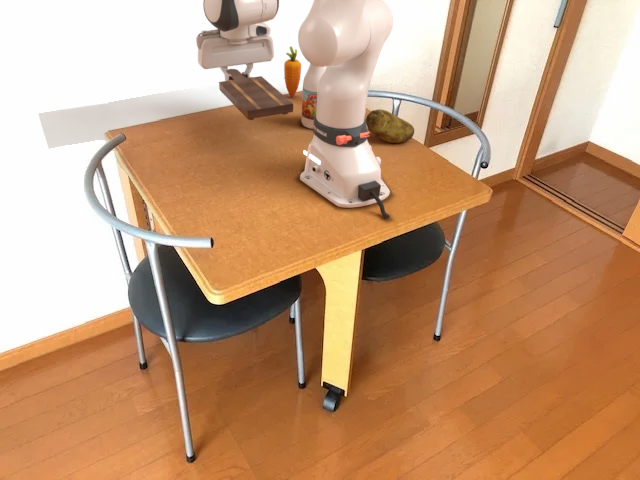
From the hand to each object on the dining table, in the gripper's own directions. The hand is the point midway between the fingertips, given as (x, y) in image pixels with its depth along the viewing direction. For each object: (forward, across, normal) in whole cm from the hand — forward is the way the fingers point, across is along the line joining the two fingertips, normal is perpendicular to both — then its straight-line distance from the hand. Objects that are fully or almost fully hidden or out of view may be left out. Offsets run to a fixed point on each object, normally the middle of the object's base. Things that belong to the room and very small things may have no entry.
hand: (237, 80), depth 149 cm
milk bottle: (+11, +18, -12) cm, 24 cm away
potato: (+11, +32, -28) cm, 44 cm away
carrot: (+11, +20, +7) cm, 23 cm away
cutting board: (+2, 0, -8) cm, 9 cm away
